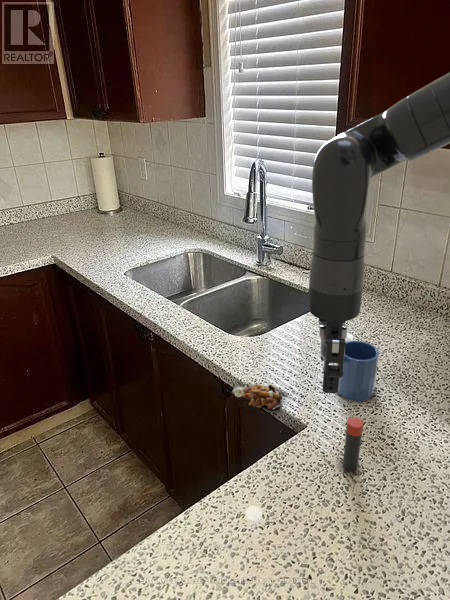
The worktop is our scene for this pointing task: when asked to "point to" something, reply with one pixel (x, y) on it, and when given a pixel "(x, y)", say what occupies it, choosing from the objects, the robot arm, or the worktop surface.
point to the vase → (358, 371)
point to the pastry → (260, 395)
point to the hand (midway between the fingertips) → (328, 375)
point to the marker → (352, 444)
